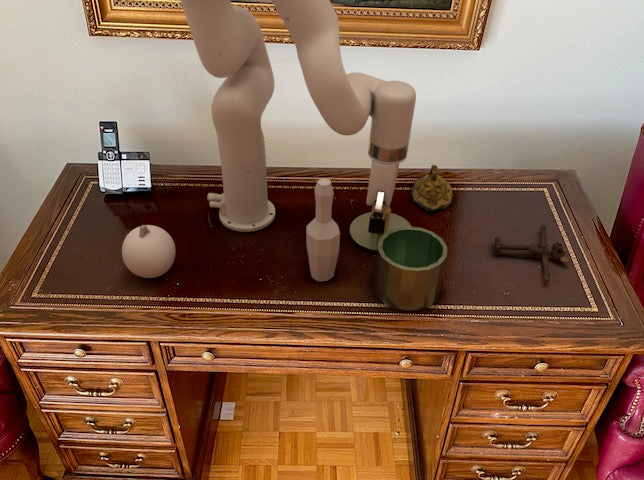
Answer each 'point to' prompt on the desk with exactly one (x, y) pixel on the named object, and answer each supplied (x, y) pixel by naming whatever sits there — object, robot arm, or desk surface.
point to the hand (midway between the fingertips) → (378, 218)
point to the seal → (432, 191)
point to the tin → (409, 268)
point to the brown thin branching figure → (534, 251)
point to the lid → (371, 239)
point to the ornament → (148, 251)
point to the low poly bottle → (323, 234)
